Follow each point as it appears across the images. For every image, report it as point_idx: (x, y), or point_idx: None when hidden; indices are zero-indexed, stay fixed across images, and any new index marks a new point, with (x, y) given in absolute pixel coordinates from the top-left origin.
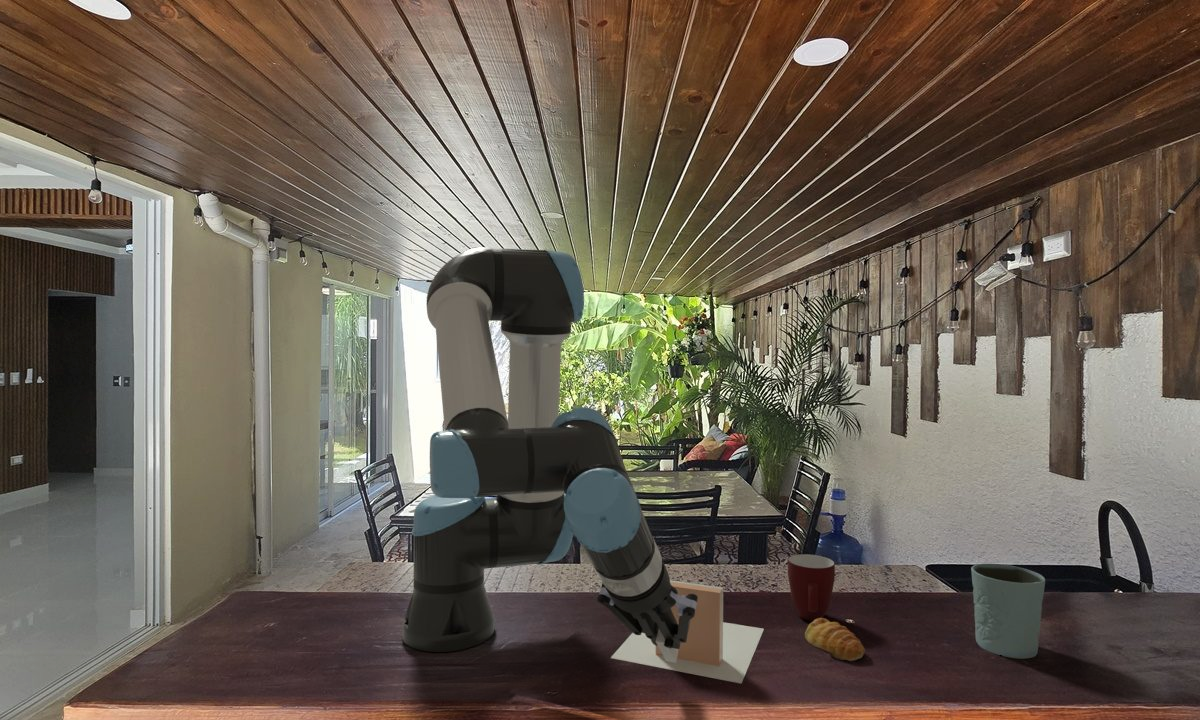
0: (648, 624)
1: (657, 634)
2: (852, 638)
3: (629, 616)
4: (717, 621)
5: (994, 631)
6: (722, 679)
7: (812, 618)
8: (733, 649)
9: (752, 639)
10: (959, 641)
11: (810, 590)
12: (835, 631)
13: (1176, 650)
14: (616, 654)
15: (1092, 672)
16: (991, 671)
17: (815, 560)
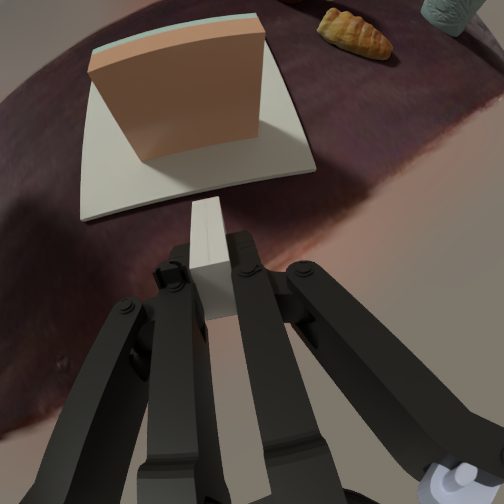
0: (214, 414)
1: (202, 304)
2: (378, 33)
3: (130, 425)
4: (257, 83)
5: (451, 20)
6: (284, 173)
7: (296, 1)
8: None
9: None
10: (416, 17)
11: None
12: (361, 27)
13: (483, 24)
14: (84, 203)
15: (485, 50)
16: (459, 55)
17: None
